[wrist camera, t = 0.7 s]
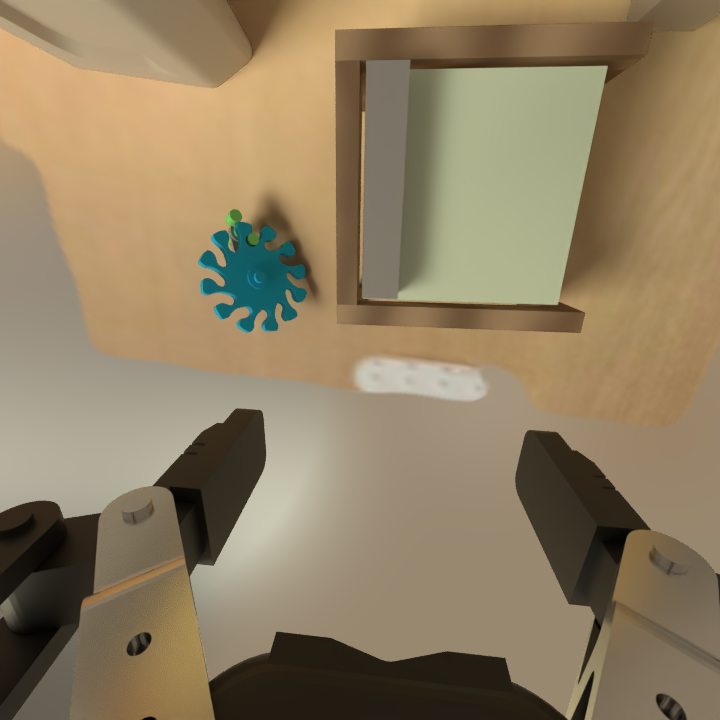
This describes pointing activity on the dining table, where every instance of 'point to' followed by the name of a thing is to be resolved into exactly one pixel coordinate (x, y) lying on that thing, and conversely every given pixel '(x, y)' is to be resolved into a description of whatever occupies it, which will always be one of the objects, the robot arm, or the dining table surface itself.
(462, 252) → the trapdoor
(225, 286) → the teal piece
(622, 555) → the robot arm
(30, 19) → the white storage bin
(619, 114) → the dining table surface
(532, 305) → the stand
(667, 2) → the small gray block
